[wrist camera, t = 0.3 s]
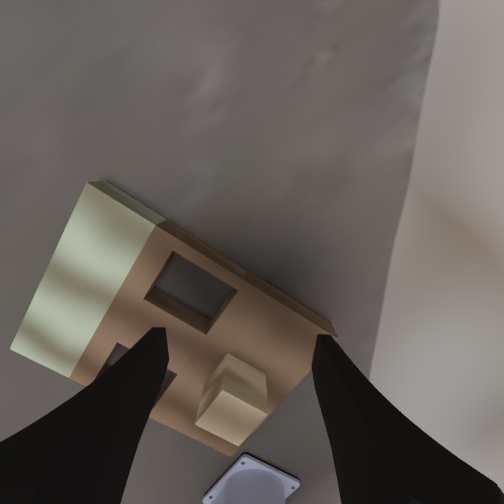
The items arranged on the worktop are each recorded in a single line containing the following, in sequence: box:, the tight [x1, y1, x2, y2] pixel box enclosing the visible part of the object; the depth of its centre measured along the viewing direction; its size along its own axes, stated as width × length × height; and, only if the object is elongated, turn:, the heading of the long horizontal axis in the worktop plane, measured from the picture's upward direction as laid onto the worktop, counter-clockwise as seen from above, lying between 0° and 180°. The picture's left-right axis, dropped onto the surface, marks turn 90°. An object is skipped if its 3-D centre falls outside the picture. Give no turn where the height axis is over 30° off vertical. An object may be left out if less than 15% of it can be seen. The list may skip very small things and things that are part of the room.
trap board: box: [10, 181, 338, 457], centre depth 23 cm, size 17×23×2 cm
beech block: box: [195, 353, 268, 446], centre depth 21 cm, size 4×4×4 cm
